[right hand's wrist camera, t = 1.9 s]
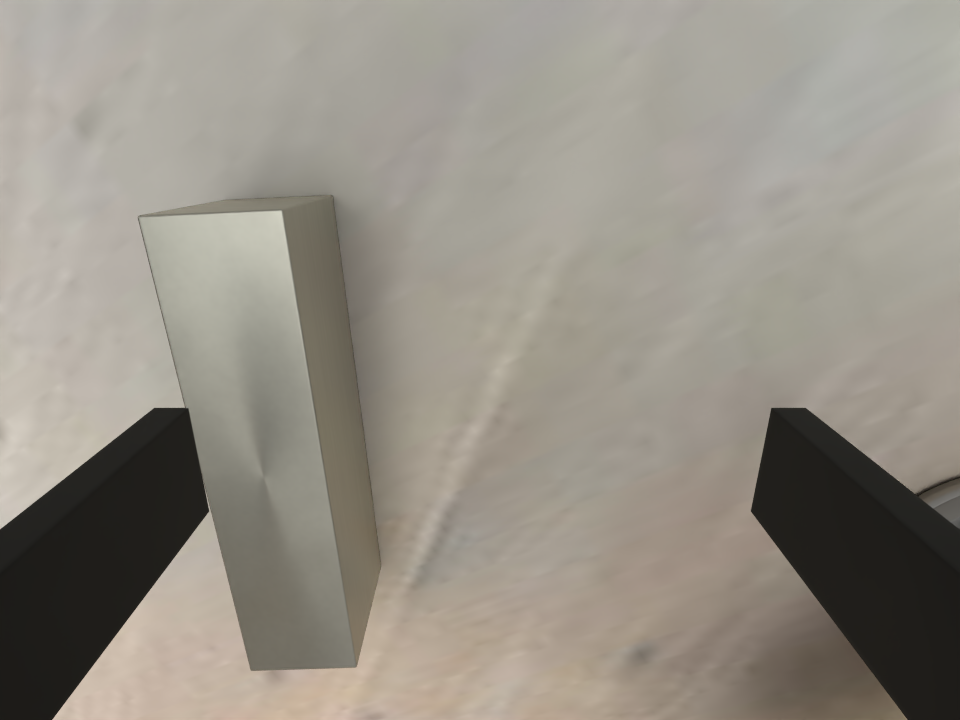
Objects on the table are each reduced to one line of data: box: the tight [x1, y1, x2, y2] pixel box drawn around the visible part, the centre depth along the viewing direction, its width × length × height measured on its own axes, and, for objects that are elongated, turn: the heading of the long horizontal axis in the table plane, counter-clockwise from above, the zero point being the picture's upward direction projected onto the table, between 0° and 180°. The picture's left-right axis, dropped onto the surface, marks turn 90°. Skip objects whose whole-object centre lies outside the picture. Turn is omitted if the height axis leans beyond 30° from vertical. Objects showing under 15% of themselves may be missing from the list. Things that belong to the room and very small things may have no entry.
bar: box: [138, 195, 381, 671], centre depth 30 cm, size 24×6×8 cm, turn 3°
